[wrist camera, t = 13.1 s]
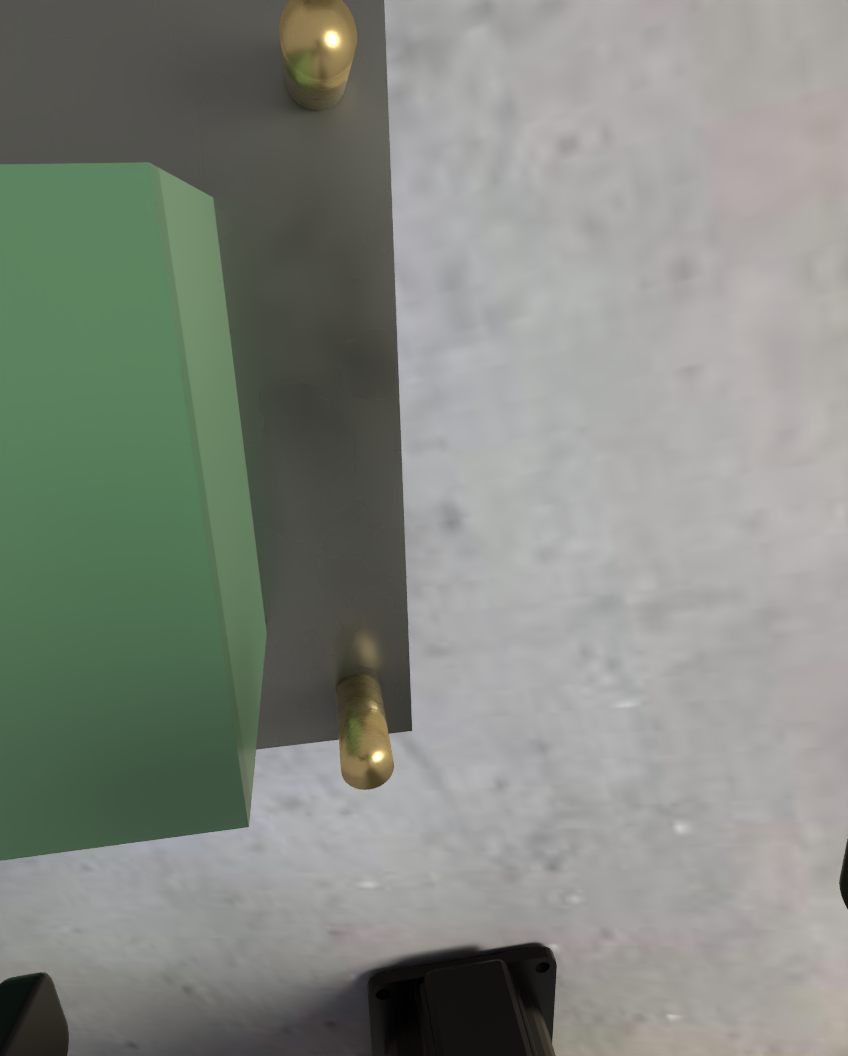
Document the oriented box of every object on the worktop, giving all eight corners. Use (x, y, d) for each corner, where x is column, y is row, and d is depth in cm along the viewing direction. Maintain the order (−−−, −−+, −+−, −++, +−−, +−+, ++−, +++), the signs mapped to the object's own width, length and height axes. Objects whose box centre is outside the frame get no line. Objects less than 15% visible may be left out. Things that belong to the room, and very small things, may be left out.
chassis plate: (407, 709, 21) (429, 808, 17) (-39, 760, 19) (-120, 882, 16) (378, 6, 15) (404, -74, 11) (-284, -5, 13) (-515, -103, 9)
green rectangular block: (212, 197, 15) (148, 162, 8) (266, 633, 18) (248, 827, 12) (-44, 202, 14) (-312, 168, 8) (65, 653, 18) (-60, 868, 11)
